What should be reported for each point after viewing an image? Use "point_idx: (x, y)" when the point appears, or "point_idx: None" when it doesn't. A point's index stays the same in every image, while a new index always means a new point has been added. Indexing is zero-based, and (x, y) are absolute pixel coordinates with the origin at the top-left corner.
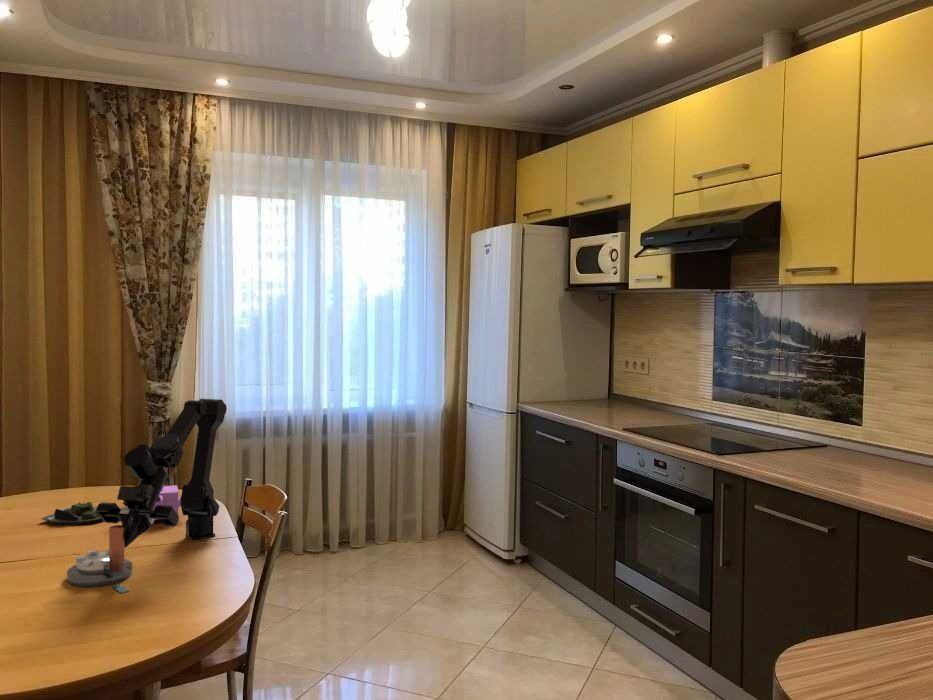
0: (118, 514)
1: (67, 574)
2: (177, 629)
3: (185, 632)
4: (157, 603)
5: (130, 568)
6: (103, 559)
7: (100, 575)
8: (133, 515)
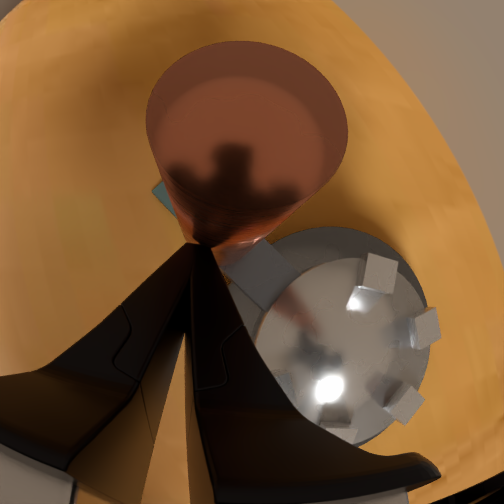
0: (414, 464)
1: (415, 276)
2: (21, 26)
3: (12, 23)
4: (50, 113)
5: None
6: (336, 348)
7: (298, 263)
8: (62, 445)
